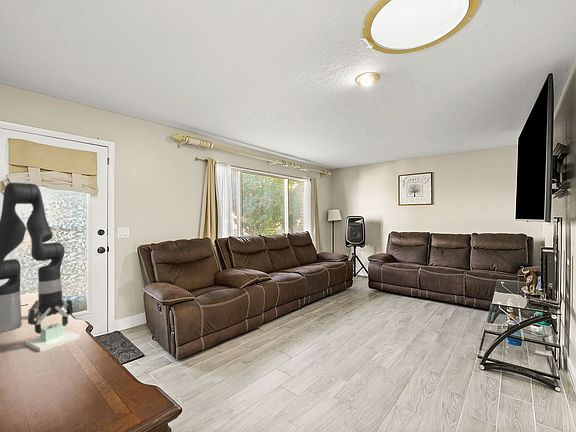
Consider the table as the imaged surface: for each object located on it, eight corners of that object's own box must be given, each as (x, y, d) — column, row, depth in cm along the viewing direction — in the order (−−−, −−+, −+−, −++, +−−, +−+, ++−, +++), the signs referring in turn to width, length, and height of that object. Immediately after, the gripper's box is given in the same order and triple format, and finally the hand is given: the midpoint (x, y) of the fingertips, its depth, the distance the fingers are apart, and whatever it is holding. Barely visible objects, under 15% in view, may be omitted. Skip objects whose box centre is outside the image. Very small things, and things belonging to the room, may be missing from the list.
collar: (40, 339, 115) (40, 328, 115) (57, 333, 119) (56, 323, 119) (46, 341, 112) (45, 330, 112) (62, 336, 116) (62, 325, 116)
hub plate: (25, 344, 114) (24, 327, 114) (63, 332, 125) (62, 316, 125) (40, 351, 106) (39, 333, 106) (79, 338, 117) (78, 321, 117)
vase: (37, 319, 146) (36, 302, 146) (27, 318, 147) (26, 302, 147) (50, 314, 153) (50, 298, 153) (40, 314, 154) (40, 298, 154)
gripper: (66, 285, 124) (68, 321, 124) (24, 294, 112) (26, 334, 112) (74, 287, 120) (76, 324, 120) (31, 296, 108) (33, 337, 108)
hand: (52, 329), depth 116 cm, fingers open, 8 cm apart
